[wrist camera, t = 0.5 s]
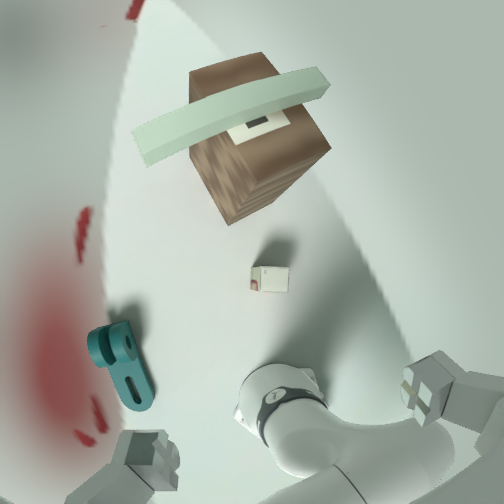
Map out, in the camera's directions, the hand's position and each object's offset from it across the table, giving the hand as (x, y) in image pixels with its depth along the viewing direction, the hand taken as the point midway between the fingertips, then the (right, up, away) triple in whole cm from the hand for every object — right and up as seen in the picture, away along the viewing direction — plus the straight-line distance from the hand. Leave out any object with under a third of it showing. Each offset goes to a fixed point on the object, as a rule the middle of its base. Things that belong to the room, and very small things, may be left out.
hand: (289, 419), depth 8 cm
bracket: (-25, -17, +39) cm, 50 cm away
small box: (+1, 0, +46) cm, 46 cm away
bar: (-3, +20, +20) cm, 28 cm away
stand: (-5, +20, +46) cm, 50 cm away
